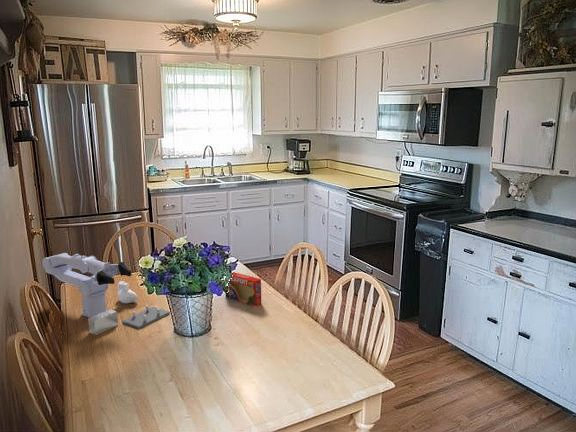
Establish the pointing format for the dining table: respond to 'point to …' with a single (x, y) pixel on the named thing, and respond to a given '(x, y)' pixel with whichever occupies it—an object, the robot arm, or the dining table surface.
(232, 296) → the toy box
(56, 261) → the robot arm
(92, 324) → the block
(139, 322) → the pin tray
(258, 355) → the dining table surface
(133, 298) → the bust
